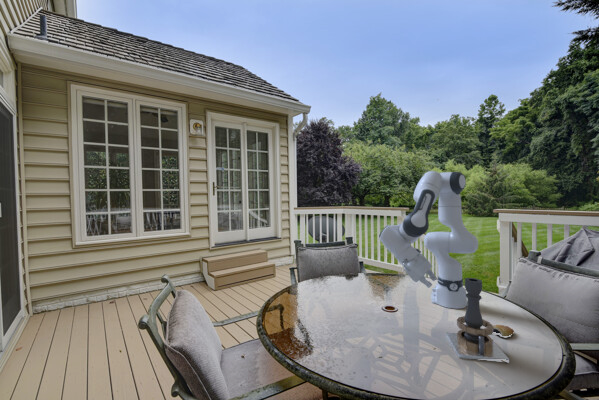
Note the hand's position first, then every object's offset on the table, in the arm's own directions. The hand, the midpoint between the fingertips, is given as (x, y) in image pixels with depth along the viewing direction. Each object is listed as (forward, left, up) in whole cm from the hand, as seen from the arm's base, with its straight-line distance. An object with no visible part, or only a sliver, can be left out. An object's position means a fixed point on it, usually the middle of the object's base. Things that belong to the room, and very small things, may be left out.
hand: (433, 283), depth 114 cm
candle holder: (+6, +13, -21) cm, 26 cm away
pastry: (-8, +28, -23) cm, 37 cm away
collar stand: (+6, +13, -23) cm, 27 cm away
